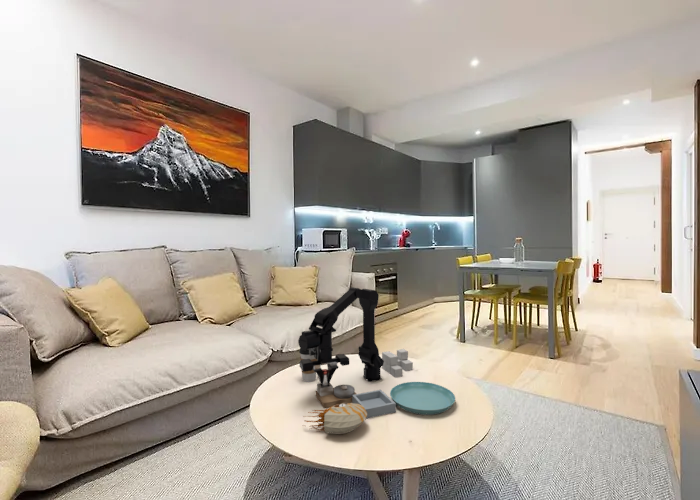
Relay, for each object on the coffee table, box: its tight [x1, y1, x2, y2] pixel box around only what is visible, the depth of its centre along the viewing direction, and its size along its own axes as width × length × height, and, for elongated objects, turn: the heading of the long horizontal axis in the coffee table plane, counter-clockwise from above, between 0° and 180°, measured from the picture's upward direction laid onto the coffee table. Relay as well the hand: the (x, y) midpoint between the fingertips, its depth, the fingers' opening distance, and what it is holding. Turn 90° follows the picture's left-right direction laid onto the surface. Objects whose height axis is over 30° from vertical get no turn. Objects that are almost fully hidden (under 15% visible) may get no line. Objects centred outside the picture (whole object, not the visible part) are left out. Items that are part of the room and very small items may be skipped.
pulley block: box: [314, 382, 357, 409], centre depth 140 cm, size 14×11×5 cm
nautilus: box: [302, 403, 367, 435], centre depth 119 cm, size 8×22×15 cm
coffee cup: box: [298, 347, 317, 383], centre depth 158 cm, size 8×8×15 cm
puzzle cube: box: [381, 348, 414, 379], centre depth 167 cm, size 12×12×8 cm
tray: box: [352, 389, 397, 420], centre depth 133 cm, size 12×12×3 cm
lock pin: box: [321, 368, 329, 388], centre depth 141 cm, size 3×3×9 cm
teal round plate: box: [389, 381, 456, 416], centre depth 137 cm, size 24×24×3 cm
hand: (324, 383), depth 141 cm, fingers closed on lock pin, 2 cm apart
